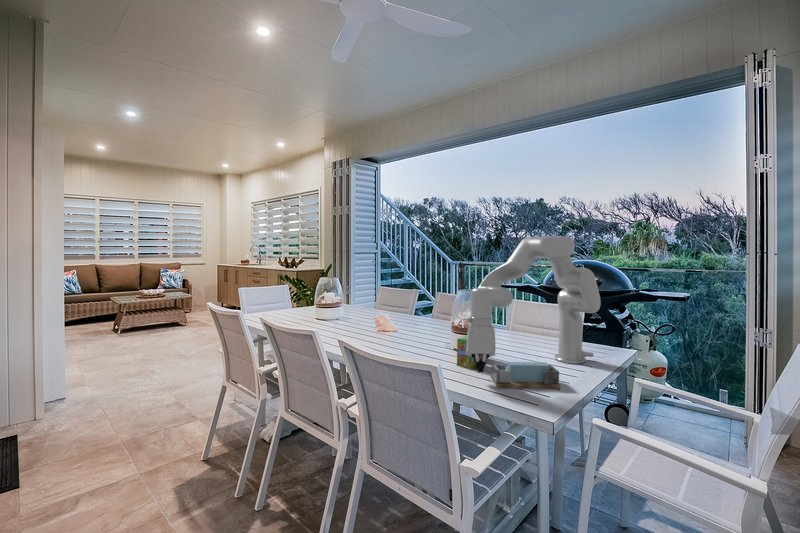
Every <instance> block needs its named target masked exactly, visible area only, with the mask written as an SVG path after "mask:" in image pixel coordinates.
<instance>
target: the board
mask: <svg viewBox="0 0 800 533" xmlns="http://www.w3.org/2000/svg"><path fill="white" fill-rule="evenodd" d="M548 365H549V366H550V371H544V381H543V382H513V381H511V383H496V381H495V379H494V378H493V376H492V374H490V379H491V381H492V382H493V384H494V386H495V387H496V388H497V389H530V390H531V389H532V390H533V389H537V390H538V389H539V390H541V389H542V390H560V389H561V385H560V384H559V383H560V371H559V370H558V369H556V368H555V367H554V366H553V365H552V364H548Z"/></svg>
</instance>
